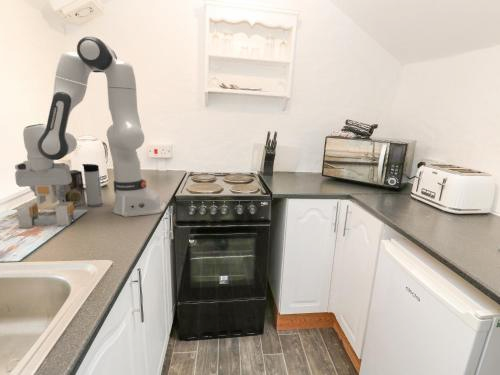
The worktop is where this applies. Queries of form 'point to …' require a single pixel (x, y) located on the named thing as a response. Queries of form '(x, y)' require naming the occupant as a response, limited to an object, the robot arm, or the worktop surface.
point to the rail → (31, 217)
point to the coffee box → (73, 190)
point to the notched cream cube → (46, 193)
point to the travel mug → (92, 185)
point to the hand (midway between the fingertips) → (47, 195)
